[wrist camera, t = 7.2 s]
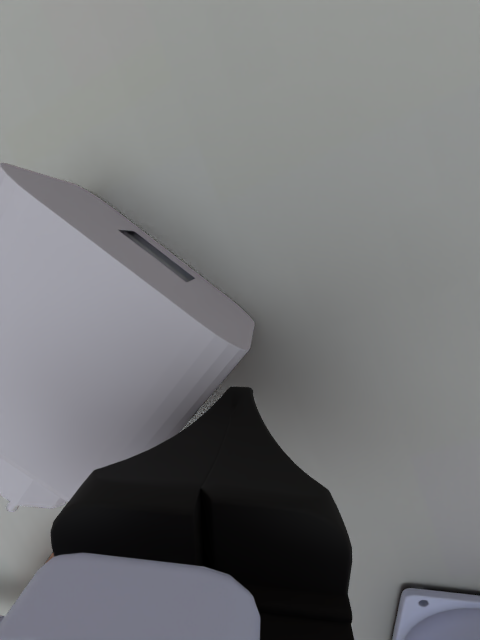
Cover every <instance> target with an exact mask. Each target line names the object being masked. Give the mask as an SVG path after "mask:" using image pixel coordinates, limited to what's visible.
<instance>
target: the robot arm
mask: <svg viewBox="0 0 480 640" xmlns="http://www.w3.org/2000/svg"><path fill="white" fill-rule="evenodd" d="M51 544H52V549H53V553H54V557H53V558H51V559H50V560H49V561H48V562H47V563H45V564H44V565H43V566H42V567H41V568H40V569H38V571H37V572H36V573H35V575H34V576H33V578H32V579H31V580H30V582H29V583H28V585H27V586H26V588H25V589H24V590H23V592H22V593H21V595H20V596H19V597H18V599H17V600H16V602H15V603H14V604H13V606H12V607H11V609H10V610H9V612H8V613H7V614H6V616H0V640H354V637H353V632H352V627H351V623H352V611H351V607H350V602H349V598H348V587H349V580H350V573H351V566H352V547H351V543H350V539H349V536H348V533H347V530H346V527H345V525H344V522H343V520H342V517H341V515H340V513H339V510H338V508H337V506H336V504H335V502H334V500H333V498H332V496H331V494H330V492H329V490H328V489H326V488H325V487H324V486H322V485H321V484H320V483H318V482H317V481H316V480H314V479H313V478H311V477H310V476H309V475H307V474H306V473H305V472H304V471H303V470H302V469H300V468H299V467H298V466H297V465H296V464H295V463H294V462H293V461H292V460H291V459H290V458H289V457H288V456H287V455H286V454H285V452H284V451H283V450H282V449H281V448H280V446H279V445H278V444H277V442H276V441H275V440H274V438H273V437H272V435H271V434H270V432H269V431H268V429H267V427H266V426H265V424H264V422H263V420H262V418H261V416H260V414H259V412H258V409H257V407H256V404H255V401H254V397H253V390H252V389H251V388H249V387H230V388H229V389H228V390H227V391H226V392H225V393H224V394H223V395H222V397H221V398H220V399H219V400H218V401H217V402H216V403H215V404H214V405H213V406H212V407H211V408H210V409H209V410H208V411H207V412H206V413H204V414H203V415H202V416H201V417H200V418H199V419H197V420H196V421H195V422H194V423H193V424H191V425H190V426H189V427H187V428H186V429H184V430H183V431H181V432H180V433H178V434H177V435H175V436H173V437H171V438H170V439H168V440H166V441H164V442H162V443H161V444H159V445H157V446H155V447H153V448H151V449H149V450H147V451H145V452H142V453H140V454H138V455H135V456H133V457H130V458H128V459H125V460H122V461H120V462H117V463H114V464H111V465H108V466H105V467H102V468H99V469H95V470H94V471H93V472H92V473H91V474H90V475H89V476H88V478H87V479H86V480H85V481H84V482H83V483H82V485H81V486H80V487H79V489H78V490H77V491H76V493H75V494H74V495H73V497H72V498H71V499H70V501H69V502H68V503H67V505H66V506H65V507H64V508H63V510H62V511H61V512H60V514H59V515H58V516H57V518H56V519H55V520H54V522H53V526H52V529H51ZM392 640H480V596H479V595H470V594H461V593H452V592H443V591H435V590H426V589H417V588H407V589H405V590H403V592H402V594H401V599H400V603H399V608H398V613H397V618H396V623H395V627H394V632H393V637H392Z"/></svg>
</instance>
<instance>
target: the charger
mask: <svg viewBox="0 0 480 640" xmlns="http://www.w3.org/2000/svg"><path fill="white" fill-rule="evenodd" d="M254 326H255V323H254V320H253V319H252V318H251V317H250V316H249V315H248V314H247V313H246V312H245V311H244V310H243V309H242V308H241V307H240V306H238V305H237V304H236V303H235V302H234V301H233V300H231V299H230V298H229V297H228V296H226V295H225V294H224V293H222V292H221V291H220V290H219V289H217V288H216V287H215V286H213V285H212V284H211V283H210V282H208V281H207V280H206V279H204V278H203V277H202V276H201V275H199V274H198V273H197V272H195V271H194V270H193V269H191V268H190V267H189V266H188V265H186V264H185V263H184V262H182V261H181V260H180V259H179V258H177V257H176V256H175V255H173V254H172V253H171V252H170V251H168V250H167V249H166V248H164V247H163V246H162V245H161V244H159V243H158V242H157V241H155V240H154V239H153V238H151V237H150V236H149V235H148V234H146V233H145V232H144V231H142V230H141V229H140V228H139V227H137V226H136V225H135V224H133V223H132V222H131V221H130V220H128V219H127V218H126V217H124V216H123V215H122V214H121V213H119V212H118V211H116V210H115V209H114V208H112V207H111V206H110V205H108V204H107V203H106V202H104V201H103V200H101V199H100V198H98V197H97V196H95V195H94V194H92V193H91V192H89V191H87V190H85V189H84V188H82V187H80V186H78V185H76V184H73V183H70V182H67V181H63V180H60V179H57V178H53V177H50V176H47V175H43V174H40V173H37V172H33V171H30V170H27V169H23V168H20V167H17V166H13V165H10V164H7V163H1V164H0V495H1V496H2V497H4V498H5V499H7V500H9V502H8V504H7V505H6V509H7V511H9V512H14V511H16V510H17V508H18V507H19V506H28V507H39V508H51V509H52V508H55V507H59V506H62V505H64V504H65V503H66V501H67V502H69V501H70V499H71V498H72V497H73V495H74V494H75V493H76V491H77V490H78V489H79V487H80V486H81V485H82V483H83V482H84V481H85V480H86V479H87V478H88V476H89V475H90V474H91V473H92V472H93V471H94V470H95V469H99V468H102V467H105V466H108V465H111V464H114V463H117V462H120V461H122V460H125V459H128V458H130V457H133V456H135V455H138V454H140V453H142V452H145V451H147V450H149V449H151V448H153V447H155V446H157V445H159V444H161V443H162V442H164V441H166V440H168V439H170V438H171V437H173V436H175V435H177V434H178V433H179V432H180V431H181V430H182V428H183V427H184V426H185V425H186V424H187V423H188V421H189V420H190V419H191V418H192V417H193V416H194V414H195V413H196V412H197V411H198V410H199V408H200V407H201V406H202V405H203V404H204V403H205V401H206V400H207V399H208V398H209V397H210V396H211V394H212V393H213V392H214V391H215V390H216V389H217V387H218V386H219V385H220V384H221V383H222V381H223V380H224V379H225V378H226V377H227V376H228V374H229V373H230V372H231V371H232V370H233V369H234V367H235V366H236V365H237V364H238V363H239V361H240V360H241V359H242V358H243V357H244V356H245V354H246V353H247V352H248V351H249V350H250V347H251V342H252V336H253V331H254Z"/></svg>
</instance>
